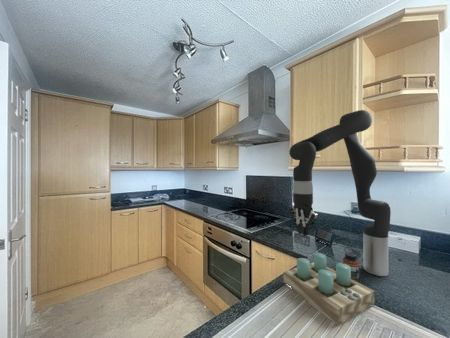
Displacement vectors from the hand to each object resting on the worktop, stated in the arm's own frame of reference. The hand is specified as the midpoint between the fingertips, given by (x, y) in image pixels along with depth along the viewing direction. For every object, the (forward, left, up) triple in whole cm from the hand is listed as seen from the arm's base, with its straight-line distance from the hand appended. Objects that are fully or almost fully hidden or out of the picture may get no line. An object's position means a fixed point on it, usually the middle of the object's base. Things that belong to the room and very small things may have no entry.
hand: (303, 234), depth 78 cm
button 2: (-10, 0, -17) cm, 20 cm away
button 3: (0, +10, -17) cm, 20 cm away
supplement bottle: (-23, +5, -22) cm, 32 cm away
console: (-5, +6, -22) cm, 23 cm away
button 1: (0, 0, -17) cm, 17 cm away
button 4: (-10, +10, -17) cm, 22 cm away
